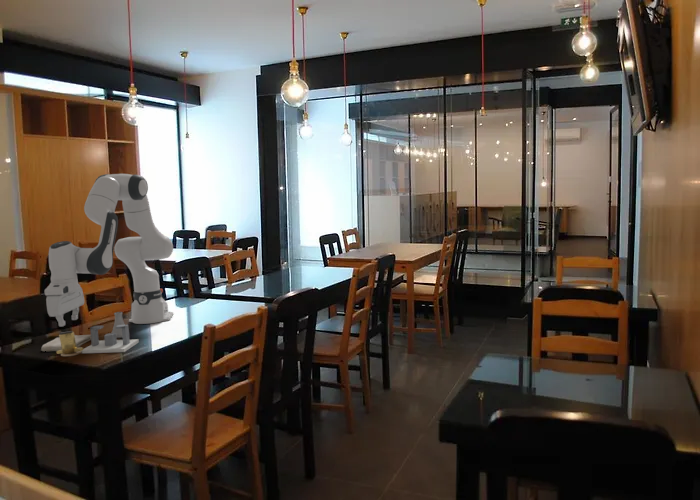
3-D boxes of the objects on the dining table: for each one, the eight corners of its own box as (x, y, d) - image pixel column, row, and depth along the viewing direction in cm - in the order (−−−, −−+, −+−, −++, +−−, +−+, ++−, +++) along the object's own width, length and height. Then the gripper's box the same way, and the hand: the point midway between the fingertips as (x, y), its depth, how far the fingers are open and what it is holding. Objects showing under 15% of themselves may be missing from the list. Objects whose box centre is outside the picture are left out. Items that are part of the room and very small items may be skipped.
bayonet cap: (62, 351, 222) (58, 331, 221) (85, 348, 221) (81, 328, 220) (54, 355, 217) (50, 335, 216) (78, 352, 216) (74, 332, 215)
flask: (123, 338, 239) (121, 314, 238) (107, 338, 241) (105, 314, 240) (133, 334, 246) (131, 310, 245) (117, 334, 248) (115, 310, 247)
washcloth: (93, 340, 241) (92, 332, 241) (71, 352, 223) (71, 344, 223) (64, 341, 241) (63, 333, 241) (40, 353, 223) (40, 345, 223)
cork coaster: (66, 351, 222) (66, 350, 222) (84, 350, 222) (84, 349, 222) (57, 356, 215) (56, 355, 215) (75, 356, 215) (75, 355, 215)
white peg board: (98, 343, 233) (96, 322, 232) (138, 342, 232) (137, 321, 231) (81, 353, 219) (79, 331, 218) (124, 352, 218) (122, 329, 217)
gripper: (70, 281, 227) (74, 316, 228) (41, 291, 206) (45, 330, 208) (86, 280, 227) (90, 315, 228) (59, 291, 206) (63, 329, 208)
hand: (68, 322), depth 218 cm, fingers open, 8 cm apart
